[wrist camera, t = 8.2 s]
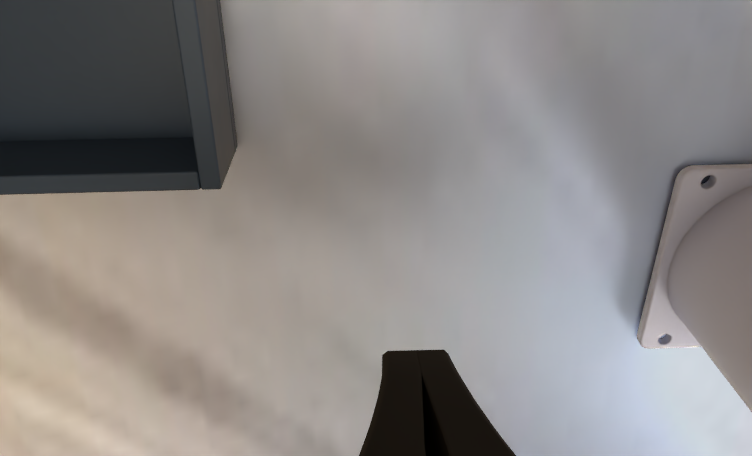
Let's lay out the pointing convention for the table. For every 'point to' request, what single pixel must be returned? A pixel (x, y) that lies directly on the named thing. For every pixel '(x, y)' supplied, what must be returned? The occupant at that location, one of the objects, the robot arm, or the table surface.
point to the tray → (113, 96)
